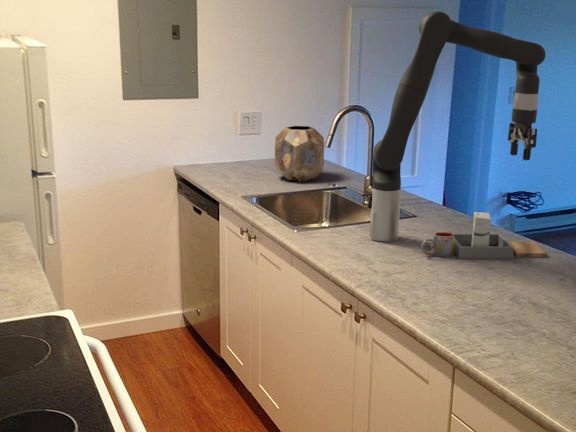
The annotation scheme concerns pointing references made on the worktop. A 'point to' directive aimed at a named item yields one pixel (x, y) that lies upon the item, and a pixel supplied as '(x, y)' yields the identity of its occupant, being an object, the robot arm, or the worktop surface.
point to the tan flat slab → (527, 249)
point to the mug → (440, 245)
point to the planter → (299, 153)
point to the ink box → (481, 230)
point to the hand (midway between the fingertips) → (519, 157)
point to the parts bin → (482, 252)
